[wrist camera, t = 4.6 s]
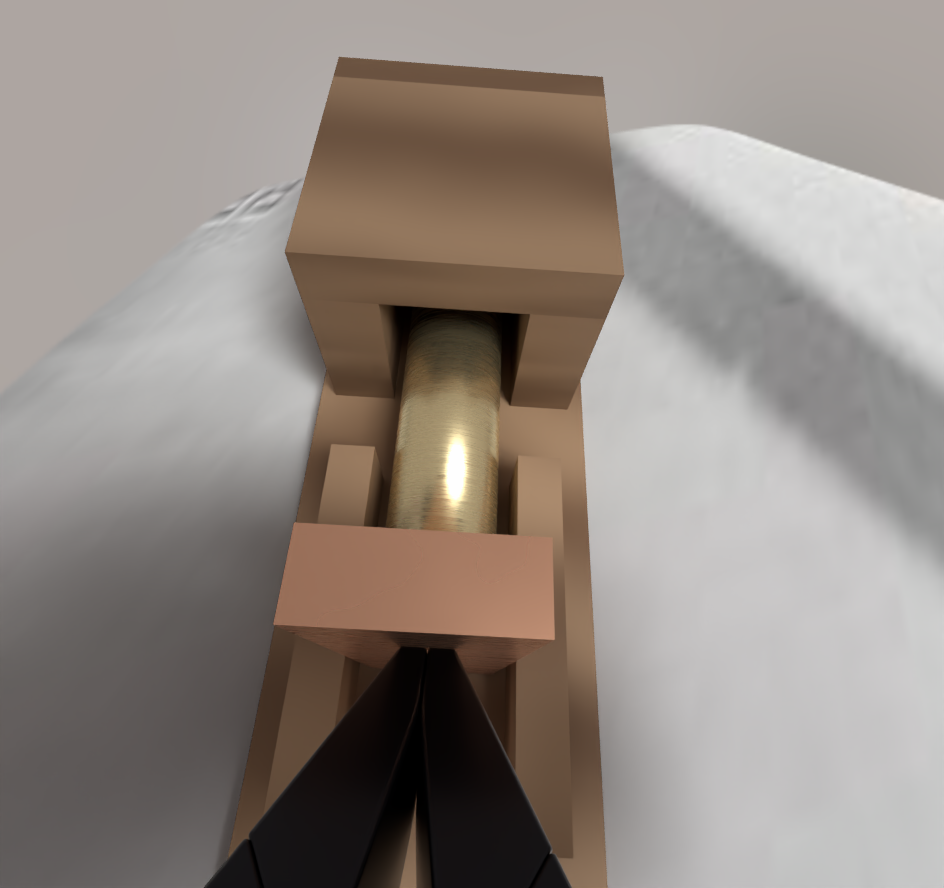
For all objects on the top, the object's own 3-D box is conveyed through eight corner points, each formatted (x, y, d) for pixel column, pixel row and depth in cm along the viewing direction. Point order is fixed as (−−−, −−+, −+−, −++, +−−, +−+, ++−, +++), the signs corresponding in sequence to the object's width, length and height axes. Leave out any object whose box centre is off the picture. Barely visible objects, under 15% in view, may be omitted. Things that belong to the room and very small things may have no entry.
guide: (603, 983, 12) (780, 1300, 6) (216, 967, 12) (-48, 1276, 6) (568, 257, 22) (619, 78, 16) (358, 243, 22) (322, 55, 16)
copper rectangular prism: (492, 674, 14) (555, 640, 6) (372, 668, 14) (273, 624, 6) (502, 295, 20) (540, 18, 12) (417, 289, 20) (398, 7, 12)
